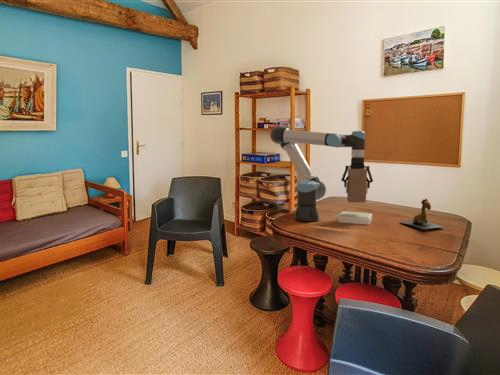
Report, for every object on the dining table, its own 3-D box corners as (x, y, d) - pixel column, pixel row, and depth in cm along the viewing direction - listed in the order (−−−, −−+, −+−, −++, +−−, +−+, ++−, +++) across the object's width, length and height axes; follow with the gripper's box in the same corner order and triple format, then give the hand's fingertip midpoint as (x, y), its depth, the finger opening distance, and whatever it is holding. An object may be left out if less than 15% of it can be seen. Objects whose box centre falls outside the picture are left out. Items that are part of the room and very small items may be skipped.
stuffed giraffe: (423, 229, 186) (424, 201, 185) (398, 223, 203) (399, 196, 201) (444, 227, 192) (446, 199, 190) (419, 221, 208) (420, 195, 207)
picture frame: (337, 222, 203) (338, 215, 203) (342, 217, 220) (342, 210, 219) (369, 224, 196) (369, 218, 196) (372, 219, 212) (372, 213, 212)
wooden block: (348, 202, 203) (349, 168, 201) (347, 200, 213) (348, 168, 211) (365, 202, 201) (367, 169, 199) (363, 200, 211) (364, 168, 209)
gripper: (336, 156, 205) (335, 192, 208) (377, 157, 196) (376, 194, 198) (339, 156, 212) (338, 191, 214) (378, 157, 203) (377, 193, 205)
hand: (356, 193), depth 206 cm, fingers closed on wooden block, 11 cm apart
